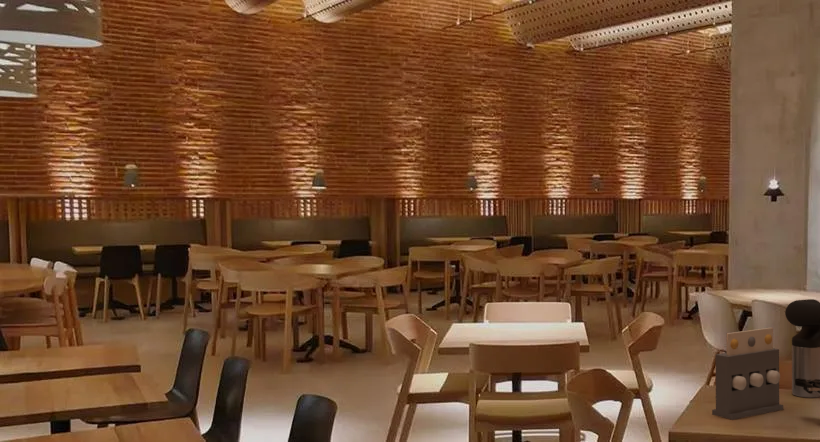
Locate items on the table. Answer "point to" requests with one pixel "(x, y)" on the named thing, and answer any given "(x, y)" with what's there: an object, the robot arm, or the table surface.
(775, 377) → the button
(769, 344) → the card
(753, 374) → the middle button
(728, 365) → the button panel
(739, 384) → the button
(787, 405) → the table surface
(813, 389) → the robot arm
